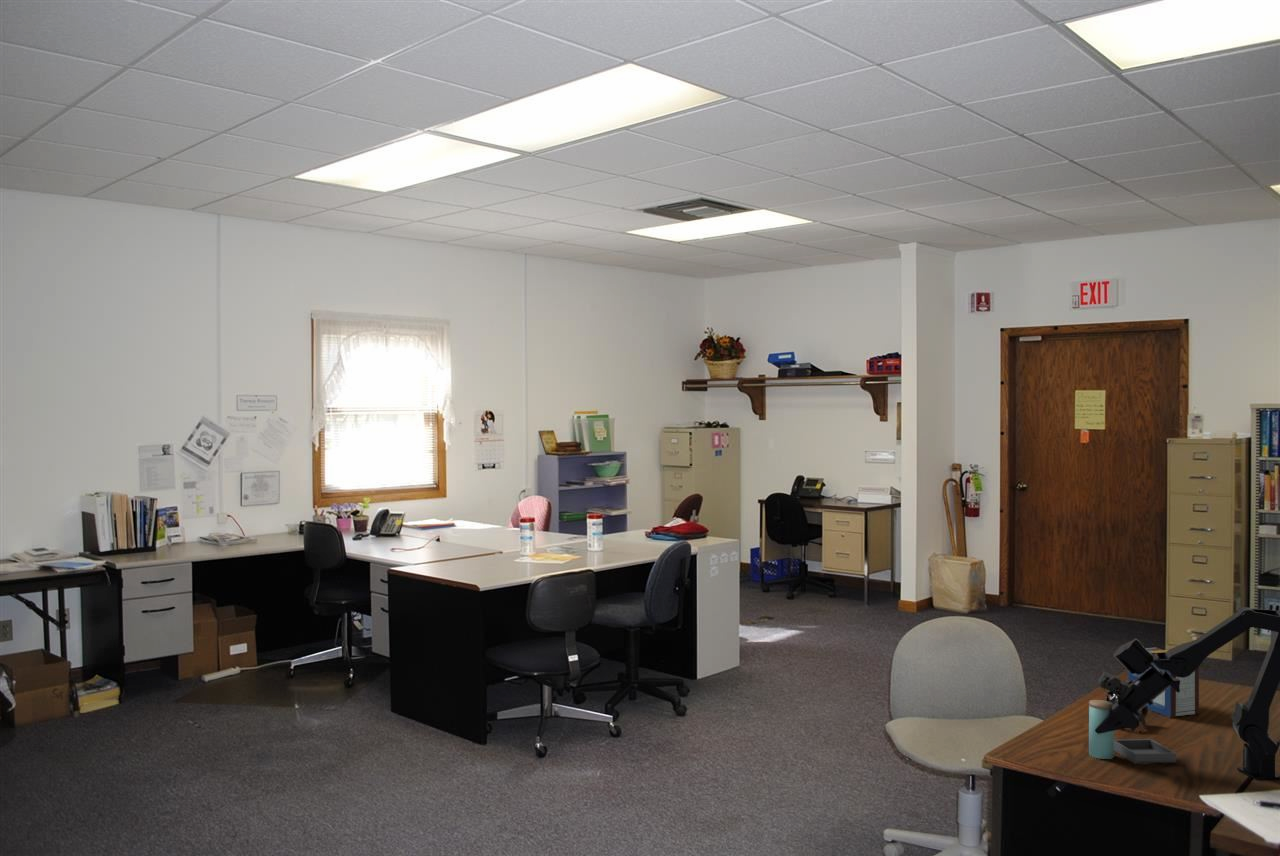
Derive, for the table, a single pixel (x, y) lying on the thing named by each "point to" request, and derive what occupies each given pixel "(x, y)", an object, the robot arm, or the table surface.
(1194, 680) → the protein box
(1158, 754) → the tray
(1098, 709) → the canister
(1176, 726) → the table surface
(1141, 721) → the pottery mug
